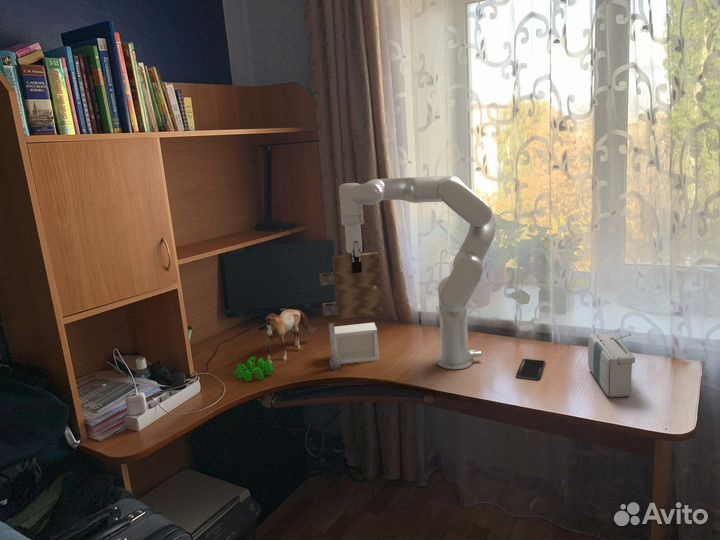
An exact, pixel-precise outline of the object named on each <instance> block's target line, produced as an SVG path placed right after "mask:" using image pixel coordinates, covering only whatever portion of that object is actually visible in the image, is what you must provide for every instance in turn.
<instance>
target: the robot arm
mask: <svg viewBox="0 0 720 540" xmlns="http://www.w3.org/2000/svg"><path fill="white" fill-rule="evenodd" d="M338 194H339V202H340V204H339V205H340V216H341V217H340V218H341V225H342V226H344V234H345V235H344V237H345V250H346V252H347V255H351V254H352V272H353V273H361V272H362V267H361V260H360V254H361V253H362V252H363V239H362V238H363V237H362V227H361V226H362V225H363V224H364V223H365V221H364V210H363V209H364V207H363V205H371V206H374V205H376V204H378V203H380V202H382V201H393V200H396V201H397V200H399V201H406V202H408V203H411V204H412V203H414V204H421V203H436V202H437V203H444V204H445V205H446V206H448V207H449V209H451V210H452V211H453V212H454V213H455V214H457V215H458V216H460V218H461V219H462V220H464V221H465V222H467V224H469V229H468V231H467V234H466V235H465V238H464V241H463V243H462V244H461V246H460V248H459V250H458V252H457V254H455V256H454V257H453V258H454V259H453V261H452V270H451V273H450V274H449V276H446V277H444V278H443V279H441V281H440V283H439V284H438V288H437V296H438V309H439V311H438V312H439V336H440V337H439V339H440V340H439V342H440V356H438V357H437V358H436V363H437V365H438V366H439V367H440V368H443V369H447V370H462V369H463V370H464V369H467V368H469V367H470V366H472V364H473V363H474V358H478V357H479V358H480V357H482V351H481V350H476V349H471V350H470V349H469V344H468V343H469V341H468V339H469V338H468V307H467V306H468V305H467V304H469V301H470V300H471V298H472V296H473V294H474V292H475V290H476V289H477V287H478V285H479V283H480V281H481V279H482V276H483V274H484V266H483V261H484V259H485V256H487V253H488V251H489V249H490V247H491V244H492V241H493V240H494V237H495V233H496V218H495V214H494V212H493V210H492V207H491V206H490V204H489V203H488V202H487V201H486V199H484V198H483V197H480V196H478V195H477V194H476V193H475V192H473V191H472V190H471V189H470V188H469V187H468V186H467V185H466V184H465V183H464V182H463V181H462V180H461V179H460V177H458V176H456V175H437V176H416V177H415V176H413V177H402V178H401V177H400V178H399V177H398V178H396V177H394V178H393V177H391V178H377V179H370V180H369V181H367V182H365V183H358V182H347V183H341V184H340V185H339V187H338Z"/></svg>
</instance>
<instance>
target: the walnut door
mask: <svg viewBox="0 0 720 540" xmlns="http://www.w3.org/2000/svg"><path fill="white" fill-rule="evenodd" d="M379 255H380V254H379V252H378V251H373V252H363V253H362V252H361V253H360V260H361V267H362V272H361V273H353V272H352V254H351V253H350V254H345V255H343V254H342V255H332V259H331V261H332V267H333V268H332V269H333V272H324V273H319V282H320V286H322V287H323V286H330V285H331V286H332V285H334V291H335V292H334V293H335V301H333V302H324V303H321V304H322V314H323V316H324V317H325V316H326V317H327V316H336V315H337V319H339V320H341V319H349V318H357V317H358V318H359V317H367V316H375V315H377V316H378V315H383V314H384V309H383V308H384V307H383V295H382V282H381V280H382V279H381V267H380V256H379Z"/></svg>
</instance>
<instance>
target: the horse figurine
mask: <svg viewBox="0 0 720 540" xmlns="http://www.w3.org/2000/svg"><path fill="white" fill-rule="evenodd" d="M264 321H265V324H264V325H265V328H266V329H267V330H266V335H267V337H268V338H267V361H268V360H271V348H272V345H273V343H274V340H275V339H277V338H278V339H279V340H280V342H281V347H282V350H283V357H282V361H284V362H285V361H287V360H288V358H287V351H286V344H285V339H284V336H285V334H286V333H287V332H289V331H292V333H293V335H294V339H295V341H294V347H296V350H297V352H298V351H301V348H302V347H301V346H300V334H301V332H300V329H299V324H301V326H302V327H303V328H305V330H306V331H307V332H308V333H309V334H312V335H314V333H315V332H316V330H317V327H314V326H312V325H311V324H310V323H309V319H308V316H307V315H306V313H304V312H303V311H302V310H299V309H293V308H288V309H283V311H281V313H280V314H279V315H278V314H275V313H274V312H273V313H269V314H268V315H267V317H266V318H264ZM271 361H272V360H271ZM271 361H269V362H271ZM271 364H272V365H273V362H271Z"/></svg>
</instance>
